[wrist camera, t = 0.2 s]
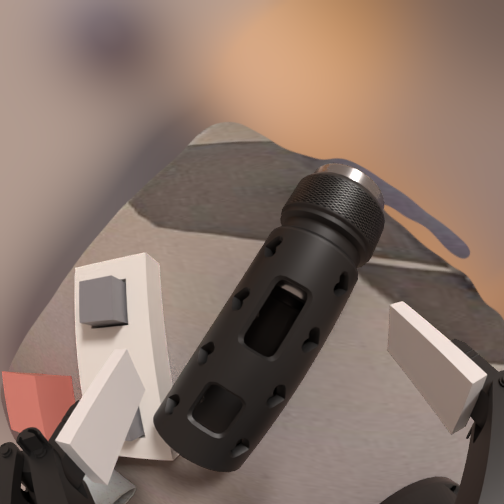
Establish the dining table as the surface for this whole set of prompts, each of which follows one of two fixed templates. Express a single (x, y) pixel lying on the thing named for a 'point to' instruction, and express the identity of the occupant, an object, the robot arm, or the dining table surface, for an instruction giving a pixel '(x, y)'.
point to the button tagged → (103, 302)
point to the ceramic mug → (111, 490)
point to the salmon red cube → (37, 400)
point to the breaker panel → (131, 344)
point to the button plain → (135, 427)
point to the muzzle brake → (274, 320)
